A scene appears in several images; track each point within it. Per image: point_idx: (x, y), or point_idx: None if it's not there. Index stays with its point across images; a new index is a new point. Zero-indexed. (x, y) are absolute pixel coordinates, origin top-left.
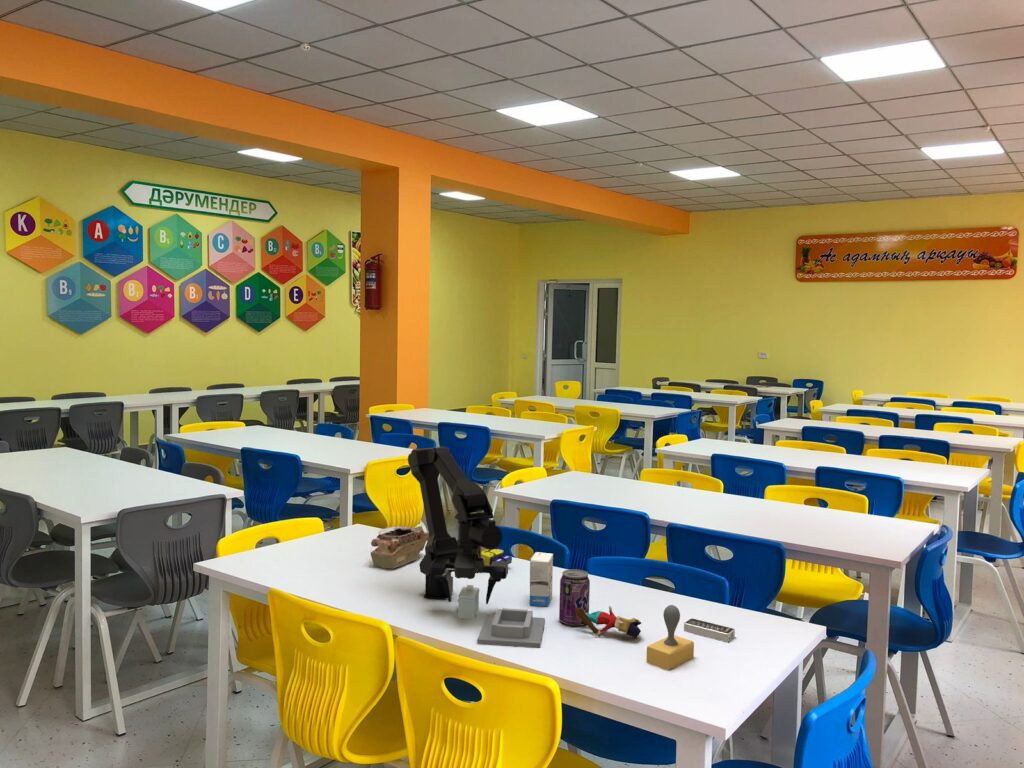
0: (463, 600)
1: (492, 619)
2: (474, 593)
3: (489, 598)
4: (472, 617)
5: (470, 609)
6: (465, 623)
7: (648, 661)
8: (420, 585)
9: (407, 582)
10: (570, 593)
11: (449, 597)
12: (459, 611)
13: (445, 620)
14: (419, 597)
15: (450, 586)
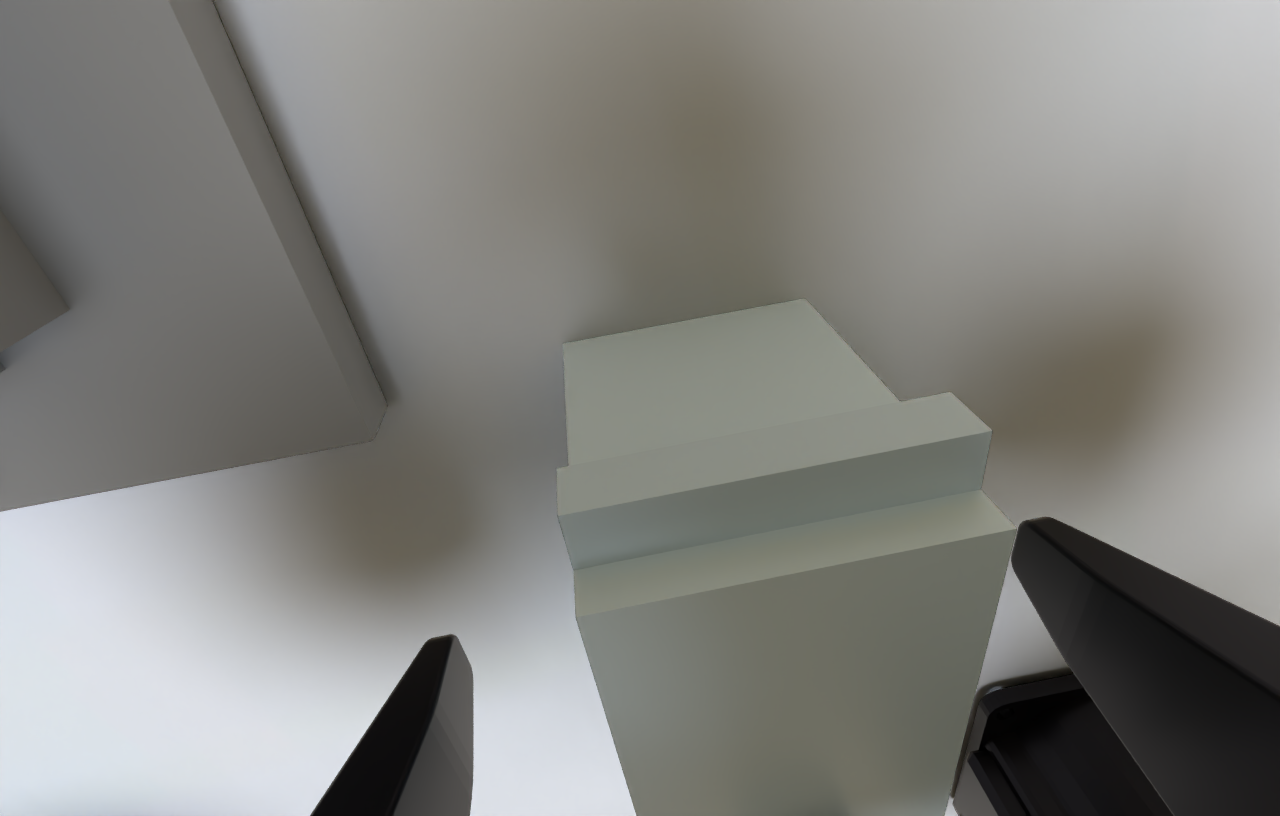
0: (832, 440)
1: (135, 260)
2: (658, 748)
3: (367, 734)
4: (592, 345)
5: (641, 406)
6: (627, 86)
7: None
8: None
9: None
10: None
11: (1099, 563)
12: (821, 346)
13: (984, 115)
14: None
15: (1218, 792)
